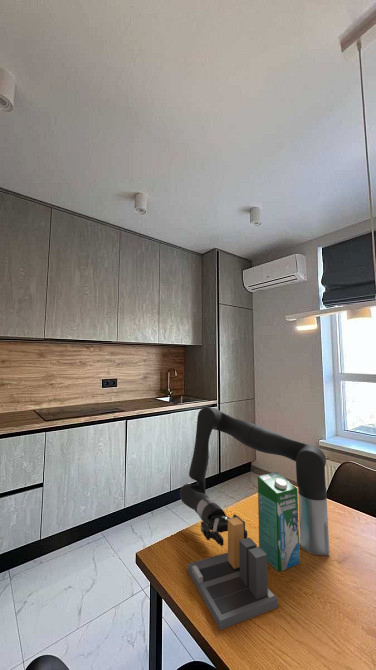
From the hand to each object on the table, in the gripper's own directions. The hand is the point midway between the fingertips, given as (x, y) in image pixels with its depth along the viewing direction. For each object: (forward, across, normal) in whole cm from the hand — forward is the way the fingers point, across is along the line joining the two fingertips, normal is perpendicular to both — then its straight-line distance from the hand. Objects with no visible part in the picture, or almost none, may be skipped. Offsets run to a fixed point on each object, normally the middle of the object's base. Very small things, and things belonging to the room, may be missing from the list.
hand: (234, 539), depth 85 cm
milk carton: (+1, +16, +9) cm, 19 cm away
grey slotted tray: (+5, -5, +9) cm, 11 cm away
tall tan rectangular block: (+1, 0, +7) cm, 7 cm away
